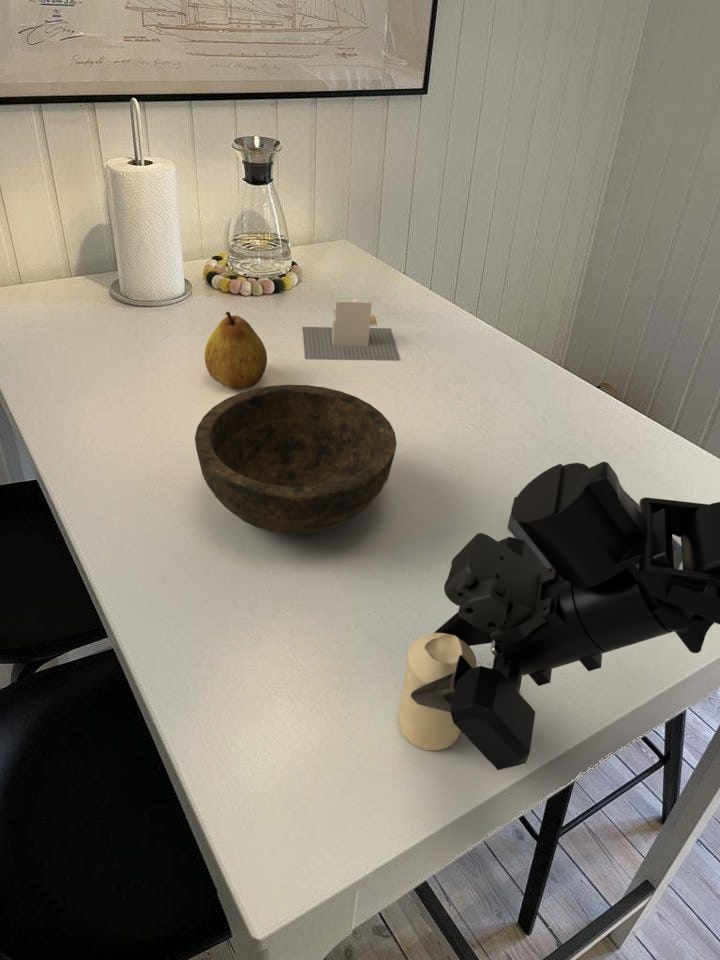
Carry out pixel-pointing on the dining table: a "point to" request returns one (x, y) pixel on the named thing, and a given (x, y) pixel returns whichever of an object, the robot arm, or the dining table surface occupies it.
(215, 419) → the bowl
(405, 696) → the candle
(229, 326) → the fruit
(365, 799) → the dining table surface
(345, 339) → the architectural model
